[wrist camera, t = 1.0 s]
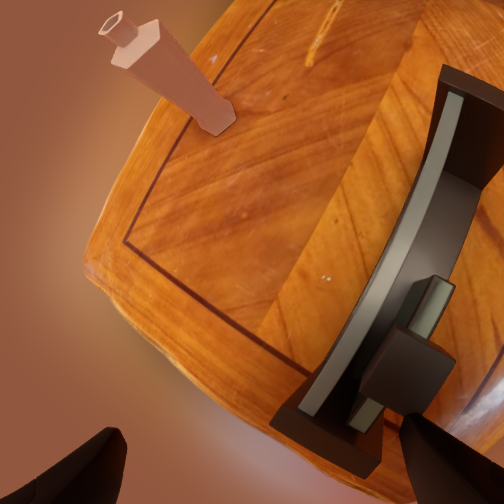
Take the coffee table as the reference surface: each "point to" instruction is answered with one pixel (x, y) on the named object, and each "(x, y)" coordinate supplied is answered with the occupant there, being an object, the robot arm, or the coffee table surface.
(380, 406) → the pane
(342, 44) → the coffee table surface
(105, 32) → the perfume bottle
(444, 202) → the window frame
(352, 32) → the coffee table surface
